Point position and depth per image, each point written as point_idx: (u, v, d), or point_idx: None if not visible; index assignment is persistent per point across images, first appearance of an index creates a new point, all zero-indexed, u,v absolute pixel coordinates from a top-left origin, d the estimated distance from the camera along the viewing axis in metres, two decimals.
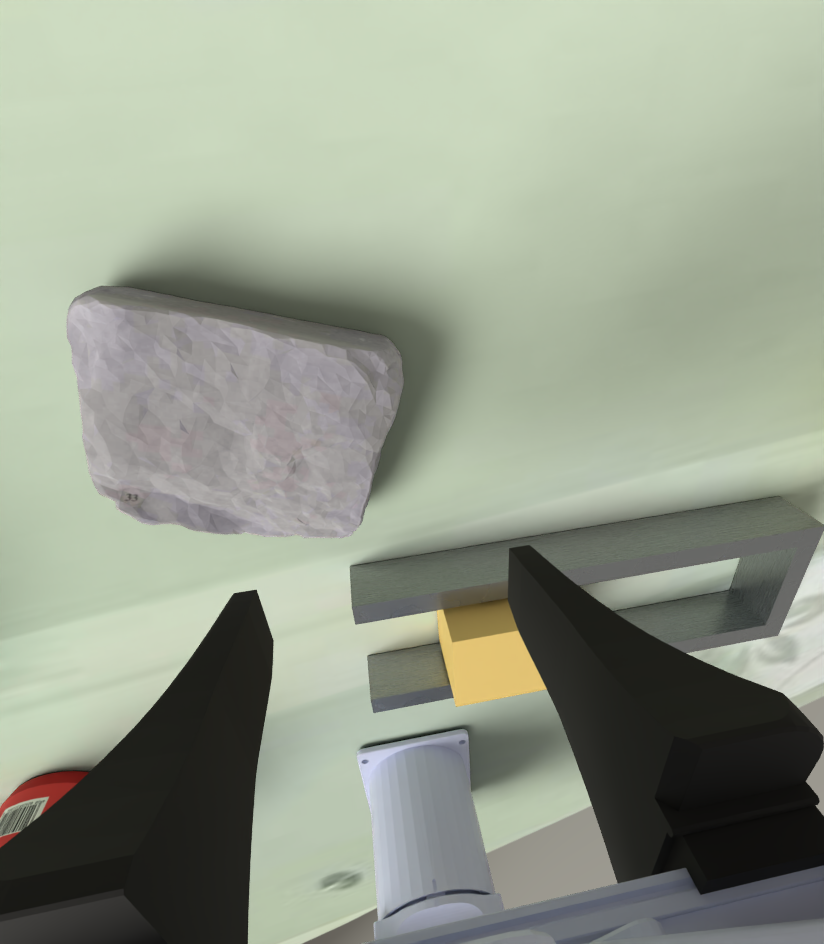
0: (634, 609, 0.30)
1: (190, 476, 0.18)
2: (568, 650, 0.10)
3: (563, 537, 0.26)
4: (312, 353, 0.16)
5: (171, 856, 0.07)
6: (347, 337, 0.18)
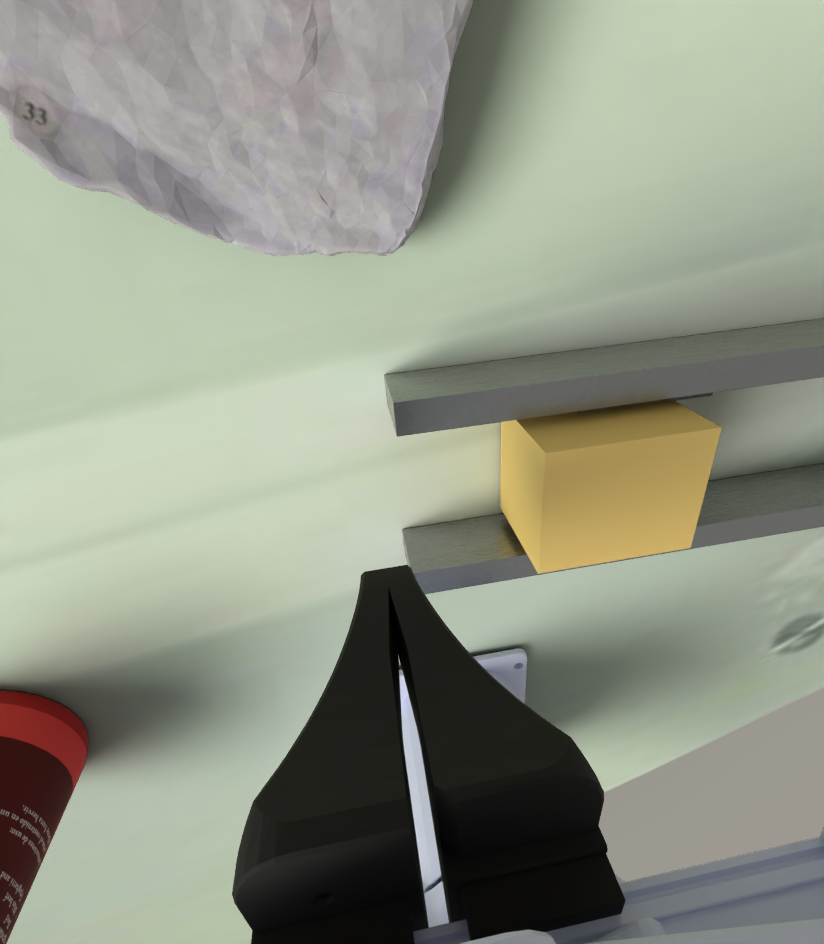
0: (758, 475, 0.23)
1: (132, 54, 0.10)
2: (411, 679, 0.10)
3: (686, 340, 0.18)
4: None
5: (408, 806, 0.07)
6: None
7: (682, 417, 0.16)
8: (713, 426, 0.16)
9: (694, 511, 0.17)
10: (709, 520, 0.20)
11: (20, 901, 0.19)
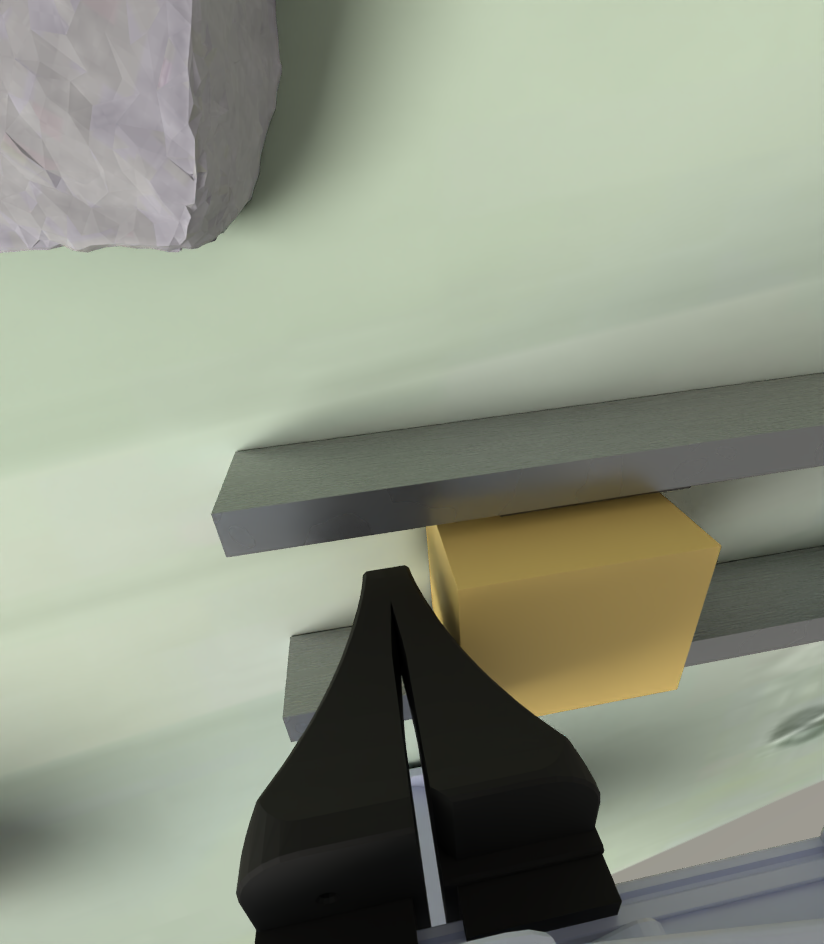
0: (755, 560, 0.18)
1: None
2: (409, 680, 0.10)
3: (657, 402, 0.13)
4: None
5: (412, 805, 0.07)
6: None
7: (665, 522, 0.11)
8: (709, 542, 0.11)
9: (682, 648, 0.12)
10: None
11: None
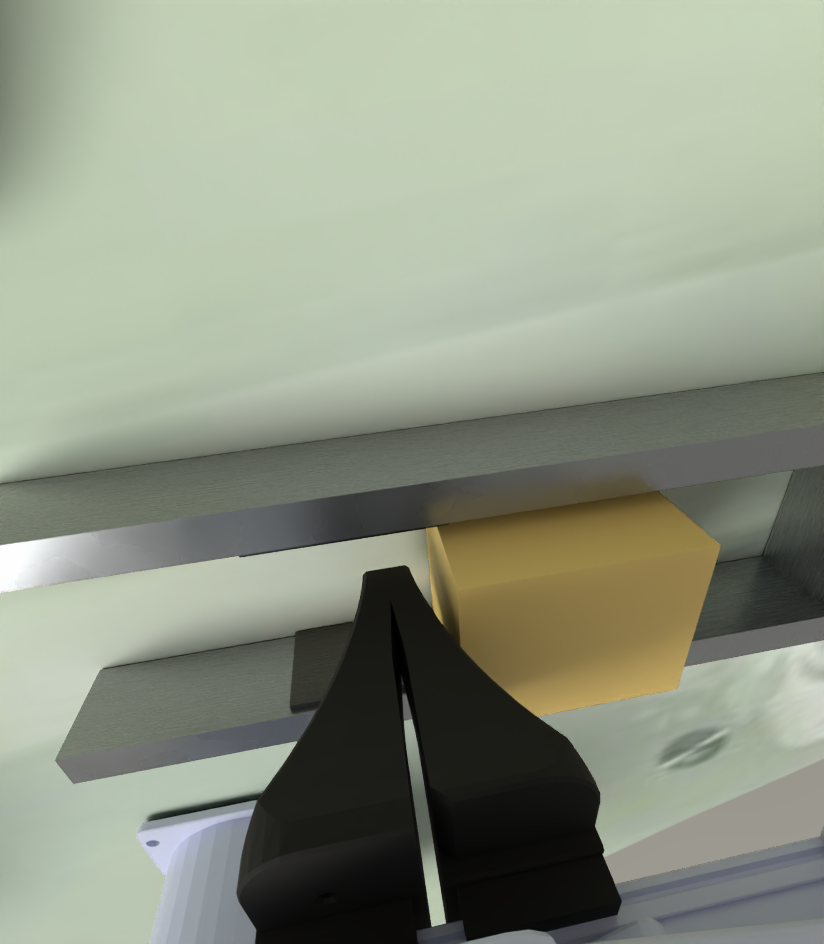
0: None
1: None
2: (409, 680, 0.10)
3: (438, 432, 0.13)
4: None
5: (412, 806, 0.07)
6: None
7: (664, 522, 0.11)
8: (708, 542, 0.11)
9: (682, 648, 0.12)
10: None
11: None
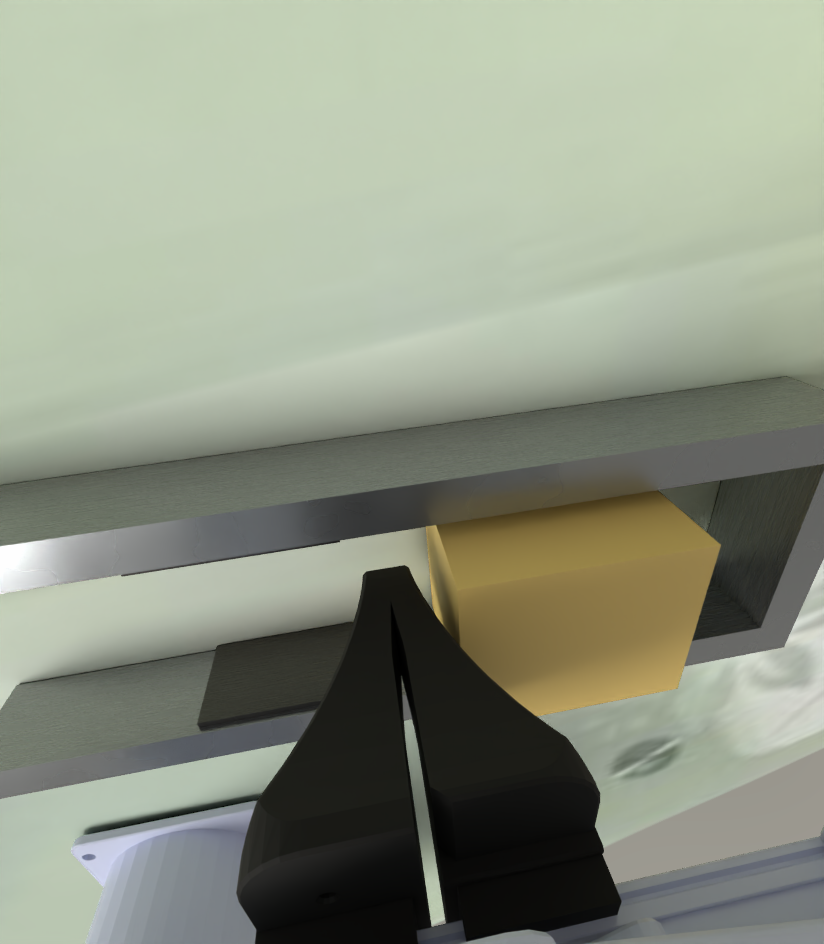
0: None
1: None
2: (409, 680, 0.10)
3: (340, 446, 0.13)
4: None
5: (412, 806, 0.07)
6: None
7: (664, 521, 0.11)
8: (708, 541, 0.11)
9: (682, 647, 0.12)
10: None
11: None
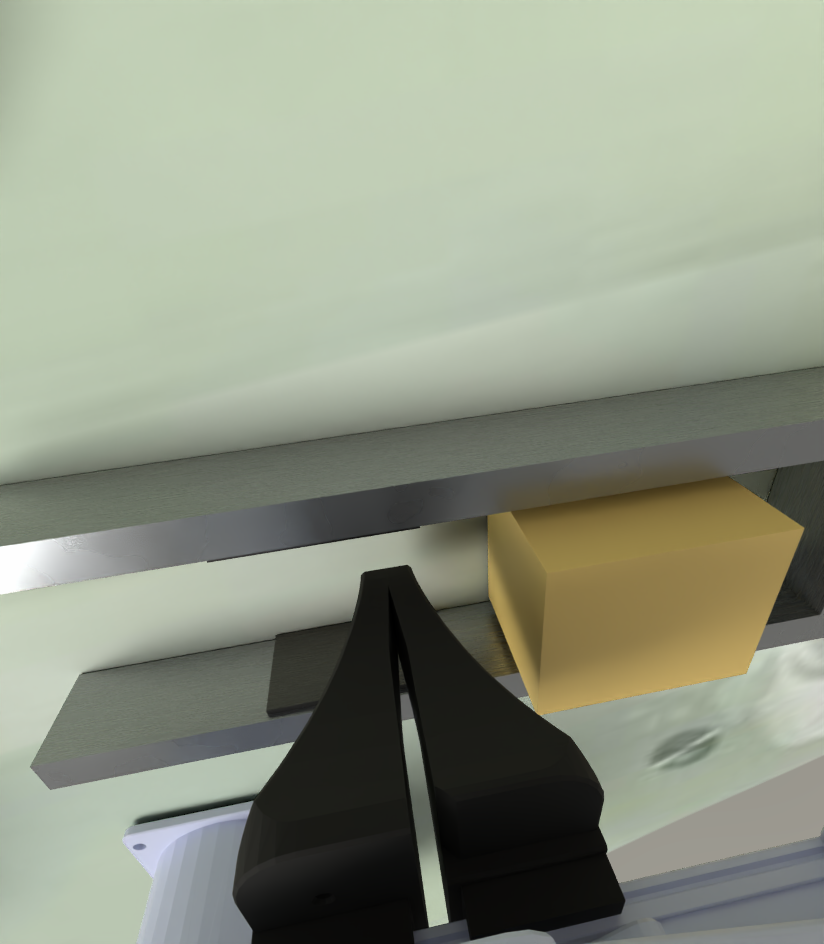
0: None
1: None
2: (411, 679, 0.10)
3: (412, 433, 0.13)
4: None
5: (408, 806, 0.07)
6: None
7: (742, 506, 0.12)
8: (791, 524, 0.11)
9: (755, 631, 0.12)
10: None
11: None
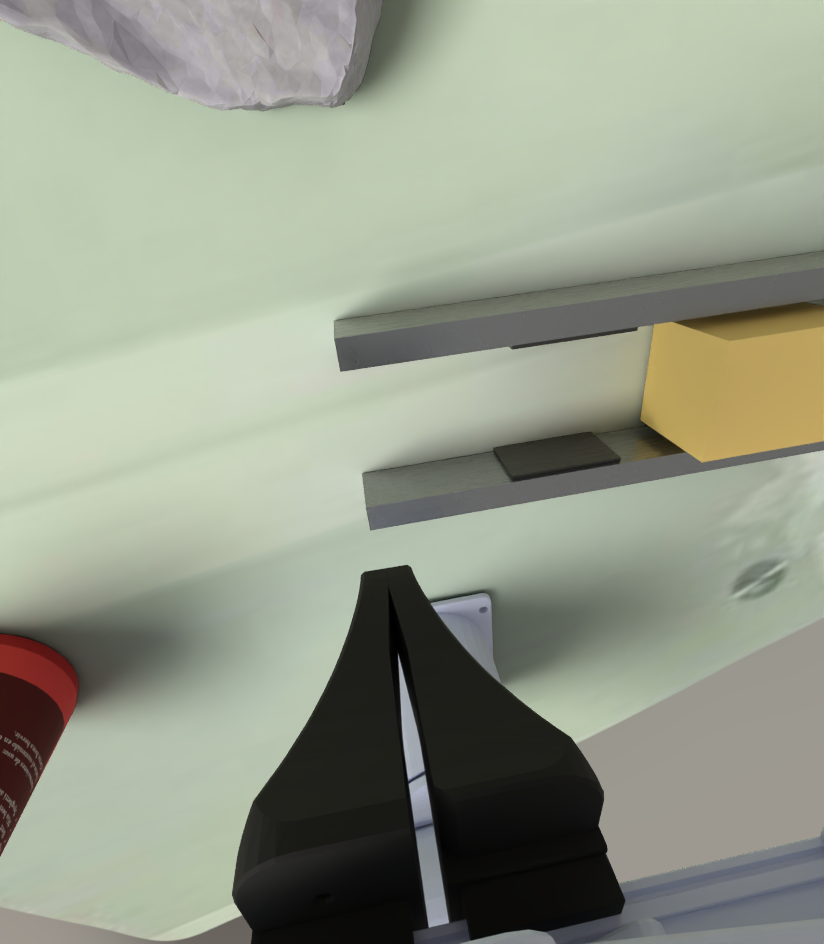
0: None
1: None
2: (411, 679, 0.10)
3: (617, 282, 0.20)
4: None
5: (408, 806, 0.07)
6: None
7: None
8: None
9: None
10: (647, 456, 0.21)
11: (14, 816, 0.21)
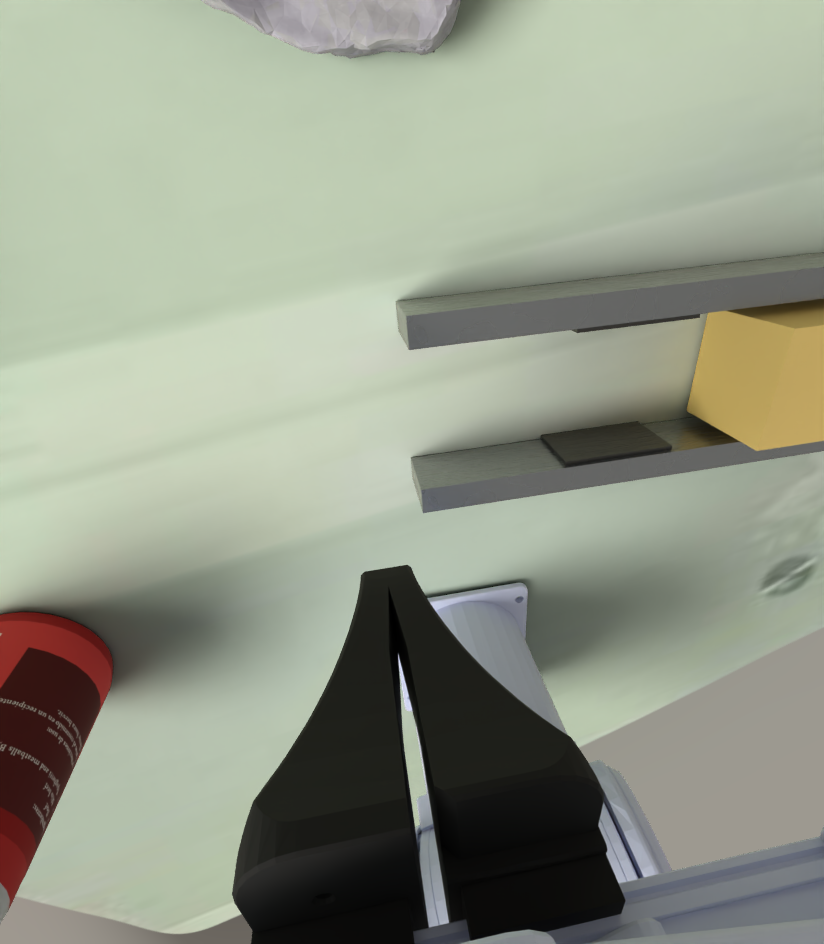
0: None
1: None
2: (411, 679, 0.10)
3: (676, 271, 0.20)
4: None
5: (408, 806, 0.07)
6: None
7: None
8: None
9: None
10: (698, 445, 0.22)
11: (57, 795, 0.20)
